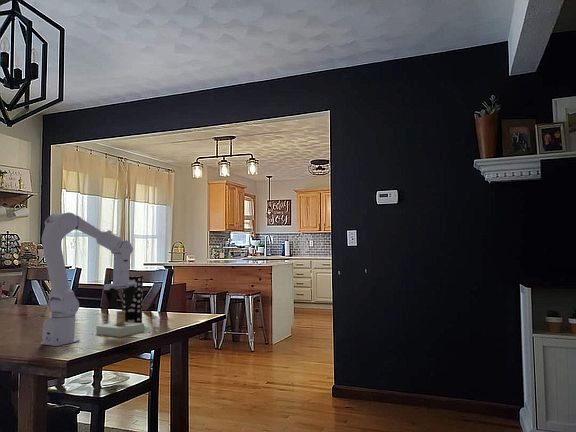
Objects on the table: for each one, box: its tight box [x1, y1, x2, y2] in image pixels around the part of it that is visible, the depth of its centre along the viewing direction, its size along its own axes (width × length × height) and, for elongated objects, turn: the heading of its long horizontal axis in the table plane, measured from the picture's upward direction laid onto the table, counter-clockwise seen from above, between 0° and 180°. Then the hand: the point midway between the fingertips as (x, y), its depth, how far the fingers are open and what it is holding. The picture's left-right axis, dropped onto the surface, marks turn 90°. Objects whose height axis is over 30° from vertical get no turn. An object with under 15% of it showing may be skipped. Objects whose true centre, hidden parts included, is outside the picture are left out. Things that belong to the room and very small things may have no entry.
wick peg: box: [116, 310, 125, 326], centre depth 176 cm, size 3×3×8 cm
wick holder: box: [95, 321, 145, 338], centre depth 176 cm, size 12×12×3 cm
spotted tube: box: [121, 275, 144, 323], centre depth 198 cm, size 8×8×20 cm
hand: (120, 307), depth 176 cm, fingers open, 7 cm apart
